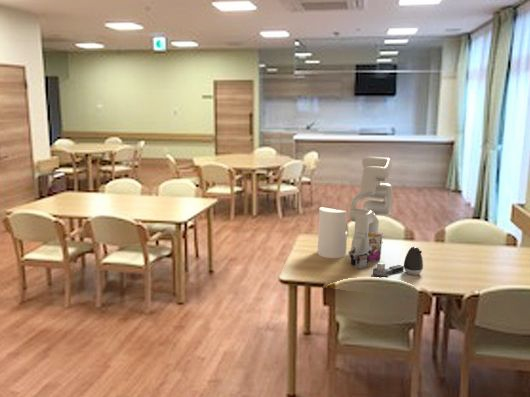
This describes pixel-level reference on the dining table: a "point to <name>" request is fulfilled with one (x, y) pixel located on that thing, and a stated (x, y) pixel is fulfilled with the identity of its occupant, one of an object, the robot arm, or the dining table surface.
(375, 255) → the candy bar box
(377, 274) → the small saucepan
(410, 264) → the dark brown rounded piece
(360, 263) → the cardboard mailer box
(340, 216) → the cylinder
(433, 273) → the dining table surface
